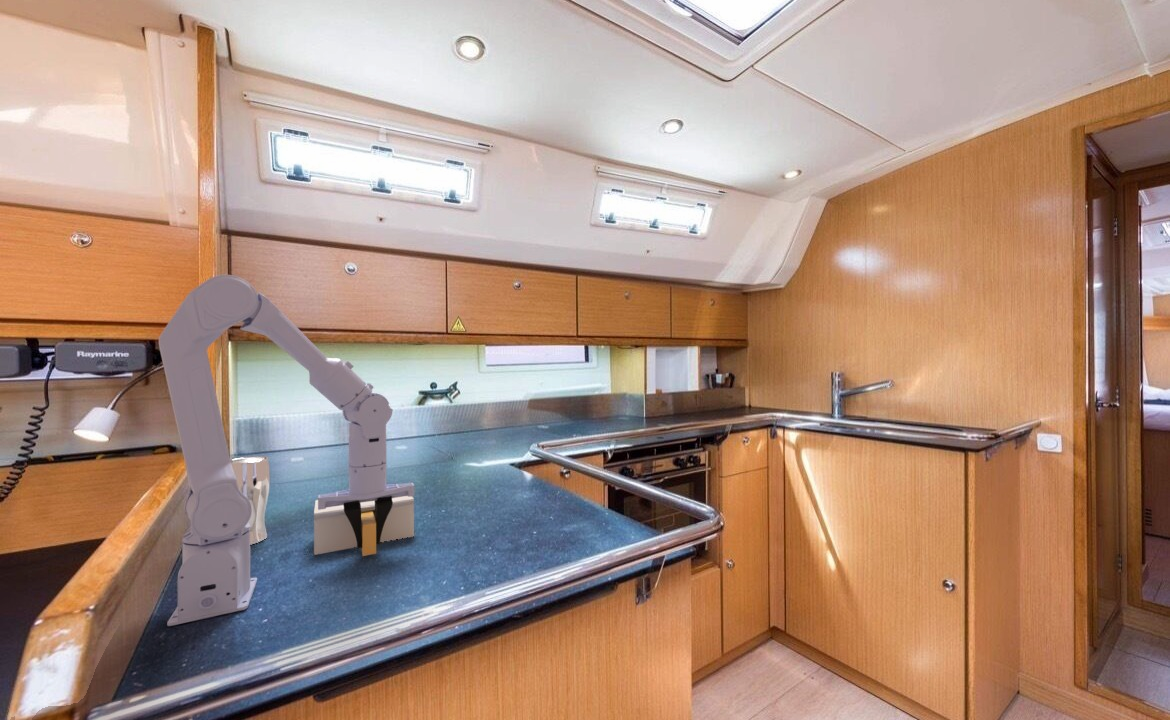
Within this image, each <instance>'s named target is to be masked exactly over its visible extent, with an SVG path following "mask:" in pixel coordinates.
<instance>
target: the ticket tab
mask: <svg viewBox="0 0 1170 720" xmlns="http://www.w3.org/2000/svg"><path fill="white" fill-rule="evenodd" d="M361 534H362V548H360V549H361V553H362V554H361V555H362V557H364V556H365V557H366V556H370V555H376V554H377V545H376V521H375V517H374V514H373V510H372V511H366V512H361Z"/></svg>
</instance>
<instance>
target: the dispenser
mask: <svg viewBox="0 0 1170 720" xmlns="http://www.w3.org/2000/svg"><path fill="white" fill-rule="evenodd" d="M392 501H393V505H392V508H391V510H390V512H389V514H388V516H387V518H386V521H385V524H384V527H383V530H382V534H381V538H380V542H382V543H385V542H384V541H387V542H391V541H390V540H392V541H397V540H396V539H398V540H401V539H402V538H403V539H406V538H407V537H408V538H413V536H414V537H415V508H414V507H415V498H414V496H411V497H408V496H403V497H396V498H392ZM360 505H361V512H366V511H372V510H373V514H374V517H375V501H368V502H361V503H360ZM354 547H355V548H357V540H356V536H355V533H354V530H353V528H352V526H351V524H350V522H349V520H348V518H347V516H346V514H345V512H344V505H340V506H333V507H326V509H321V510H318V499H315V503H314V510H313V555H314V556H316V555H322V554H326V553H332V552H339V551H343V550H348V549H354Z"/></svg>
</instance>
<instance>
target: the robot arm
mask: <svg viewBox="0 0 1170 720" xmlns="http://www.w3.org/2000/svg"><path fill="white" fill-rule="evenodd" d="M239 323H243V324H242V325H241V327H240V328H239V329H240V330H241V331H244V332H250V333H255V334H257V335H258V334H259V335H261V336H262V335H263V336H265V337H267V338H268V339H269V340H270V341H272V343H274V344H275V345H276V346H277V347H279V348H280V349H281V350H283V351H284V352H285V353H286V354H287V355H288V356H290V357H291V358H293V359H294V360H295V361H296V362H297V363H298V364H299V365H301V366H302V367H304V368H305V370H307V371H308V374H309V376H308V377H309V384H310V386H312V387H313V388H314V389H315V390H317V392H319V393H320V394H321V395H323V397H324V398H326V399H327V400H328V401H329V402H330V403H331V404H333V405H334V406H335V407H336V408H337V409H338V410H339V411H342V416H343V418H344V419H345V420H346V421H348V422H349V423H348V427H349V428H348V433H349V434H348V436H349V437H348V489H343V490H338V491H334V492H333V491H332V492H329V493H324V494H318V495H317V500H318V510H321V509H326V507H333V506H340V505H344V512H345V514H346V516H347V518H348V520H349V522H350V524H351V526H352V528H353V530H354V533H355V536H356V540H357V547H356V548H357V549H361V548H362V534H361V505H360V503H361V502H368V501H375V521H376V546H379V545H380V544H381V543H380V538H381V534H382V530H383V527H384V524H385V521H386V518H387V516H388V514H389V512H390V510H391V508H392V505H393V501H392V498H396V497H403V496H408V497H411V496H412V497H415V484H414V483H413V482H407V483H406V482H405V483H392V484H391V483H390V484H388V483H387V424H388V422H389V421H390V419H391V417H392V415H393V408H391V406H390V402H389V400H388V399H387V398H386V397H385V396H384V395H382V394H380V393H375V392H374V393H373V389H374V388H375V387H374V385H372V384H371V383H369V382H367V383H366V381H364V380H363V379H362V378H361V376H359V375H358V374H357V373H355V372H354V371H353V370H352V369H353V368H354V365H353V364H352V363H351V362H350V361H344V360H342V359H341V358H338V357H337V358H336V357H333V358H331V357H327V356H326V355H325V354H324V353H323V352H322V351H321V350H320V349H319V348H318V347H317V346H316V345H315V344H314V343H313V342H312V341H311V340H310V339H309V338H308V337H307V336H306V335H305V334H304V333H303V332H302V330H300V328H298V326H296V325H295V323H293V322H292V321H291V320H290V319H289V318H288V316H286V315H285V314H284V313H283V311H282V310H280V309H279V308H278V307H277V306H276V304H275V303H274V302H273V301H272V300H271V299H270V298H268V297H267V296H266V295H264V294H262V293H261V292H257V291H256V289H255V288H254V286H253V285H252V284H251V283H250V282H248V281H247V280H246V279H244V278H242V277H240V276H236V275H232V274H219V275H215V276H213V277H210V278H208V279H206V280H205V281H204V282H202V283H201V284H198V286H197V287H195V288H193V289H192V290H191V291H189V292H188V294H187V296H186V297H185V298H184V300H183V301H181V303H180V305H179V306H178V308H177V309H176V310H175V313H174V314H173V316H172V317H171V319H170V320H169V321H168V323H167V324H166V326H165V327H164V328H163V330H162V332H161V333H160V335H159V337H158V348H159V352H160V357H161V360H162V366H163V371H164V374H165V378H166V383H167V388H168V393H169V397H170V401H171V406H172V410H173V414H174V419H175V424H176V428H177V433H178V438H179V441H180V447H181V450H182V456H183V460H184V465H185V468H186V469H185V470H186V477H187V483H188V494H187V496H186V498H185V502H184V509H183V510H184V512H185V515H186V516H187V518H188V519H189V521H190V527H189V528H188V529H187V530H186V533H184V534H182V540H181V541H182V545H181V546H182V548H181V549H182V551H181V552H182V556H181V557H182V564H181V566H180V568H179V569H178V574H177V607H175V610H174V611H173V613H172V615H171V616H170V617H169V619H168V620H167V624H166V625H167V626H168V627H172V626H177V625H181V624H186V623H190V622H195V621H199V620H204V619H208V618H213V617H216V616H217V617H218V616H222V615H225V614H227V615H228V614H231V613H235V612H240V611H245V610H246V609H248V607H249V605H250V602H251V600H252V596H253V594H254V592H255V588H256V585H257V582H258V578H257V577H251V546H250V524H249V523H248V521H249V519H250V517H251V513H252V506H251V503H250V501H249V499H248V498H247V497H246V496H245V495H244V494H243V493H242V492H241V491H240V489H239V487H238V484H237V479H236V476H235V473H234V471H233V468H232V465H231V462H230V460H231V457H230V454H229V448H228V445H227V439H226V435H225V430H224V426H223V425H224V424H223V420H222V416H221V415H222V414H221V411H220V406H219V402H218V398H217V392H216V387H215V382H214V377H213V372H212V368H211V364H210V359H209V355H208V348H209V347H210V346H211V345H212V344H213V343H215V341H217V339H219V338H220V337H221V336H222V335H223V334H224V332H225V331H226V330H228V329H229V328H231V327H233V326H236V325H237V324H239Z"/></svg>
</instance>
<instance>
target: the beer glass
mask: <svg viewBox="0 0 1170 720" xmlns="http://www.w3.org/2000/svg"><path fill="white" fill-rule="evenodd" d="M230 462H231V465H232V468H233V471H234V473H235V476H236V479H237V484H238V487H239V489H240V491H241V492H242V493H243V494H244V495H245V496H246V497H247V498H248V499H249V501H250V503H251V506H252V513H251V517H250V519H249V521H248V523H249V524H250V545H252V544H255V543H258V542H260V541H262V540H264V539H266V538H268V534H267V529H266V525H265V523H266V522H265V514H266V508H267V503H268V498H269V494H270V486H271V484H270V483H271V481H270V480H271V479H270V473H271V472H270V465H269V457H268V456H261V455H260V456H259V455H258V456H257V455H256V456H245V457H238V458H232V459H230ZM266 540H267V539H266ZM264 541H265V540H264ZM258 544H259V543H258ZM255 545H256V544H255ZM252 546H253V545H252Z"/></svg>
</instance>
